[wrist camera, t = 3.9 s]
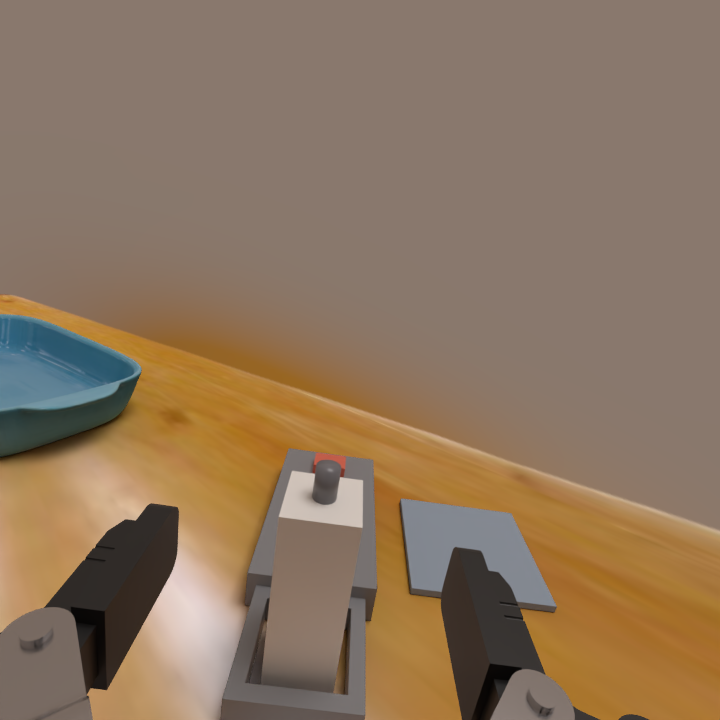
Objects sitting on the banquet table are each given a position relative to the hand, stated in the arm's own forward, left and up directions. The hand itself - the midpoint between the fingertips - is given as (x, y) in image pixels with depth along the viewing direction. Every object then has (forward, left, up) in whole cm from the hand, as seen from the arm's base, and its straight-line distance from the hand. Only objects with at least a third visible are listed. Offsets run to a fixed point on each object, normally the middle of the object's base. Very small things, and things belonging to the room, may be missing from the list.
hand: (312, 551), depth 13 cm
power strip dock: (+20, 0, -19) cm, 28 cm away
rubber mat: (+24, -14, -19) cm, 34 cm away
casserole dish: (+40, +42, -19) cm, 61 cm away
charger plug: (+11, 0, -19) cm, 22 cm away
